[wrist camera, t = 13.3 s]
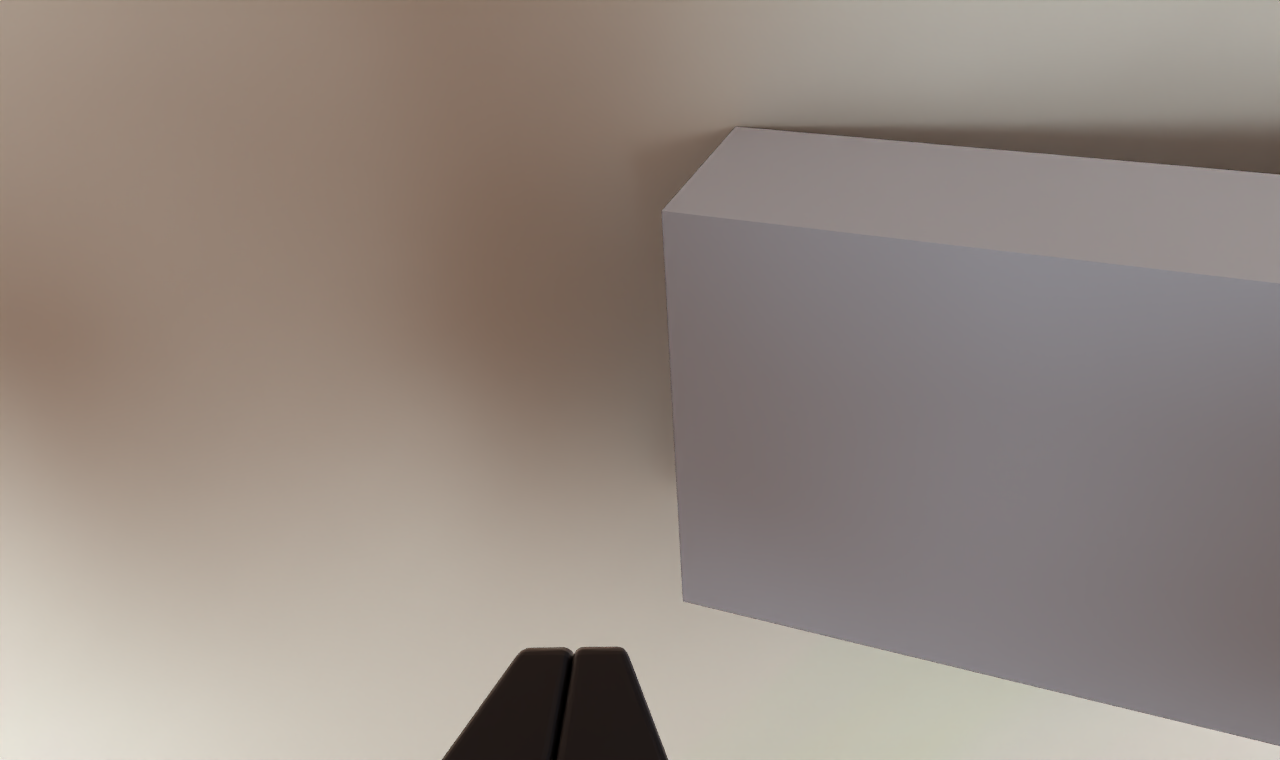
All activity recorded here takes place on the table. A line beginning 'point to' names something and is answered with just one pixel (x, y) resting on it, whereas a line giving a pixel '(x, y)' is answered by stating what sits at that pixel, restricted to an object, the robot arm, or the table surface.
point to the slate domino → (987, 412)
